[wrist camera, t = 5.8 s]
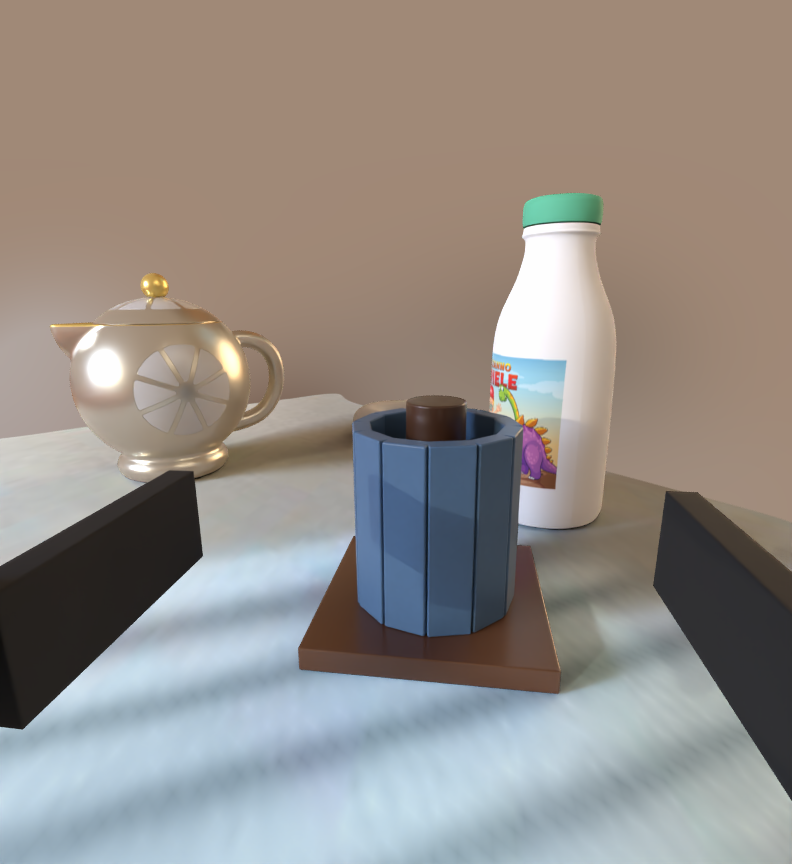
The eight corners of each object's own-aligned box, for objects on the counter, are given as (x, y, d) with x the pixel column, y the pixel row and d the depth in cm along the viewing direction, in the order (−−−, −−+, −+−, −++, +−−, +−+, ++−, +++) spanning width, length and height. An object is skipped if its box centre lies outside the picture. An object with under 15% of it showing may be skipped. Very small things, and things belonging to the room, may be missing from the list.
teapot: (86, 514, 35) (44, 265, 31) (70, 465, 46) (37, 274, 42) (320, 465, 45) (311, 272, 41) (262, 434, 56) (251, 278, 52)
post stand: (529, 561, 29) (540, 383, 26) (559, 694, 19) (582, 433, 16) (353, 551, 30) (348, 381, 27) (298, 670, 20) (282, 425, 18)
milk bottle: (563, 485, 40) (585, 211, 35) (625, 526, 33) (664, 187, 28) (470, 493, 39) (479, 207, 34) (513, 538, 31) (532, 182, 26)
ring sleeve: (525, 567, 26) (534, 413, 24) (490, 655, 20) (499, 455, 18) (395, 542, 29) (394, 402, 27) (328, 611, 22) (319, 434, 20)
